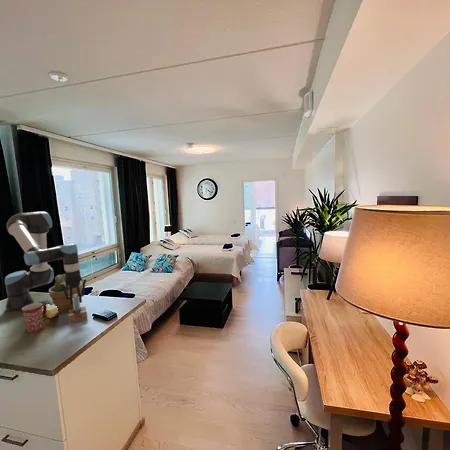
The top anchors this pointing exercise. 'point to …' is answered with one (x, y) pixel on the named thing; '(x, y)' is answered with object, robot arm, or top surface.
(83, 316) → the wooden holder
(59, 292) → the potted plant
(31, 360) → the top surface
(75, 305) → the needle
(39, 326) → the mug
